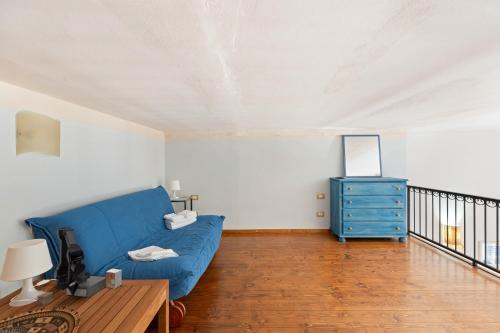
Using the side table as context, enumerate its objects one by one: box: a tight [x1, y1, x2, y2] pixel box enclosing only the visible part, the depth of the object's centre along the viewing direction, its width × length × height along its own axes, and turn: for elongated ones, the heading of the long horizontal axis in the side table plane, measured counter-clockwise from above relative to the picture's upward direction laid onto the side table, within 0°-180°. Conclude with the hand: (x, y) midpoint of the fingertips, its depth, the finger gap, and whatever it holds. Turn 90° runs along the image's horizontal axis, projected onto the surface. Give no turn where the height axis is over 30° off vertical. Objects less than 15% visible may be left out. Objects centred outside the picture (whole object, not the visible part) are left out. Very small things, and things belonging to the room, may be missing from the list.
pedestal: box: [36, 291, 54, 306], centre depth 140 cm, size 5×5×5 cm
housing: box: [65, 275, 107, 298], centre depth 156 cm, size 17×14×6 cm
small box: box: [105, 268, 123, 290], centre depth 161 cm, size 8×6×10 cm
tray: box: [67, 288, 87, 298], centre depth 155 cm, size 14×14×4 cm
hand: (73, 295), depth 146 cm, fingers closed
